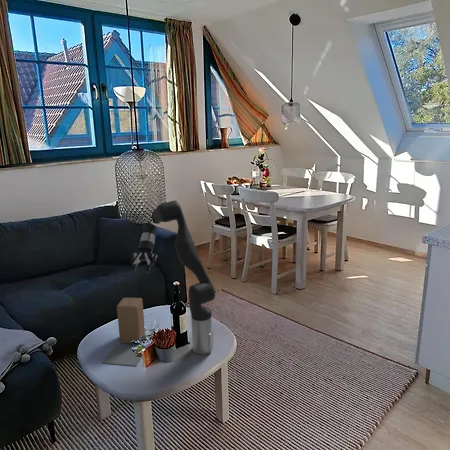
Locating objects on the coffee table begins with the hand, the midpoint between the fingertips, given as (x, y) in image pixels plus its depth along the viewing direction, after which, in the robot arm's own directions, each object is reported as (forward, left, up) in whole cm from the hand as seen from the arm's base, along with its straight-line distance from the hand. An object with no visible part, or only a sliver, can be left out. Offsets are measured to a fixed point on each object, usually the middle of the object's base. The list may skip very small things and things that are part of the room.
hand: (140, 272), depth 204 cm
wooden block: (0, +16, -29) cm, 33 cm away
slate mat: (-2, +30, -28) cm, 42 cm away
